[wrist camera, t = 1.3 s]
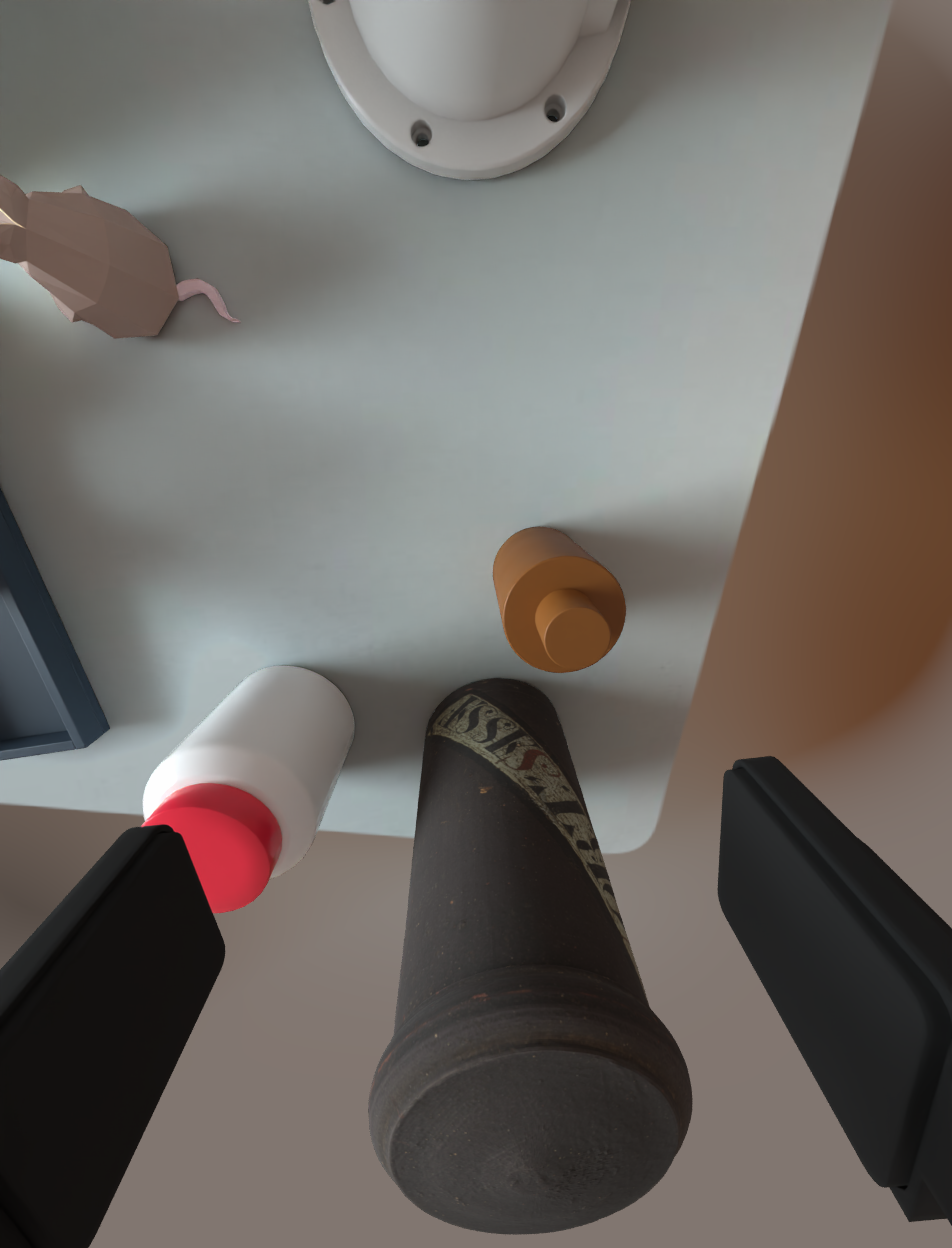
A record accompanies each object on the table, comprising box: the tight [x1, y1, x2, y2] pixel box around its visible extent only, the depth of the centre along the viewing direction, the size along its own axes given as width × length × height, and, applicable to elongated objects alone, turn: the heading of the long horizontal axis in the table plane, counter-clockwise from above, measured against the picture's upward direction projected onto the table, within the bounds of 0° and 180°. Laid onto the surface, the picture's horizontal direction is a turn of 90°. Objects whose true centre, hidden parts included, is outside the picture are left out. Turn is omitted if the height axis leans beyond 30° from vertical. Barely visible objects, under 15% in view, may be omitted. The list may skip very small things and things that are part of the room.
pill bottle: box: [141, 665, 355, 913], centre depth 25 cm, size 8×8×11 cm
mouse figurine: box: [0, 175, 240, 339], centre depth 20 cm, size 5×8×7 cm, turn 71°
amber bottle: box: [493, 527, 626, 673], centre depth 23 cm, size 5×5×10 cm
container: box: [368, 678, 692, 1234], centre depth 22 cm, size 9×9×20 cm
